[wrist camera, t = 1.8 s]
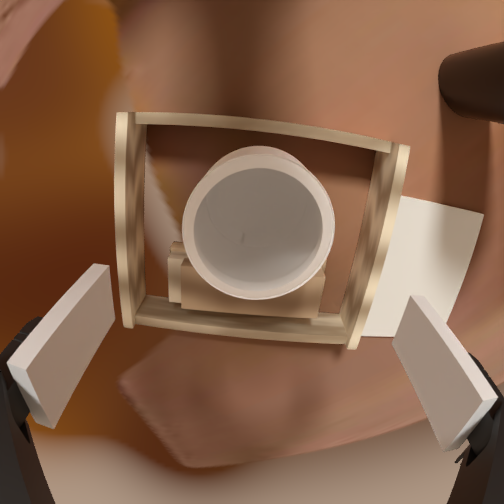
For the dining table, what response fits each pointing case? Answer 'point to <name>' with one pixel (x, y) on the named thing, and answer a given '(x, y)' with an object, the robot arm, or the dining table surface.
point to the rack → (245, 325)
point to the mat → (423, 261)
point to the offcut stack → (211, 299)
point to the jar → (258, 224)
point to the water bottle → (475, 82)
